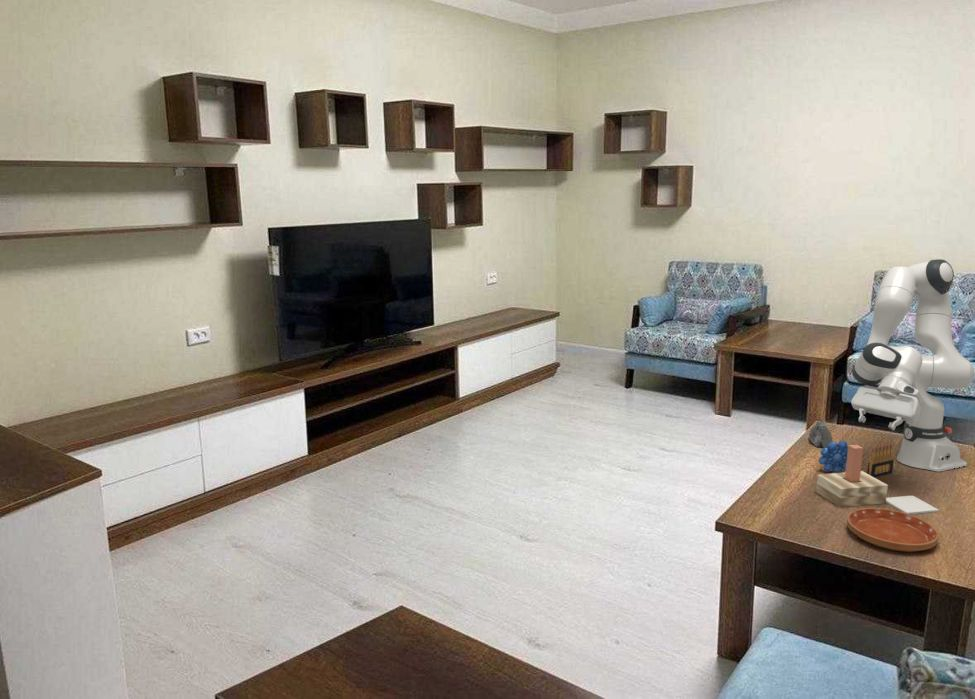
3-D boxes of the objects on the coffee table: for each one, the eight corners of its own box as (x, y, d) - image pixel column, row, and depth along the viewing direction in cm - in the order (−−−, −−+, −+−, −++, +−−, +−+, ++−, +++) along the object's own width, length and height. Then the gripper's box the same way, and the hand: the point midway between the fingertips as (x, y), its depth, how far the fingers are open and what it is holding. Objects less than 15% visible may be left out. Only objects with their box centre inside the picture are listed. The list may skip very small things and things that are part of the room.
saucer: (945, 535, 215) (947, 523, 215) (925, 564, 199) (927, 552, 198) (860, 512, 230) (861, 501, 229) (834, 538, 214) (836, 526, 213)
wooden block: (852, 486, 242) (857, 444, 239) (858, 490, 239) (863, 447, 236) (843, 487, 241) (848, 445, 238) (850, 490, 238) (854, 448, 235)
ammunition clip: (871, 478, 256) (875, 445, 253) (866, 476, 257) (870, 443, 255) (892, 473, 260) (896, 440, 258) (887, 471, 262) (891, 438, 259)
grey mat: (912, 497, 241) (912, 495, 241) (938, 511, 230) (938, 509, 230) (881, 499, 239) (881, 498, 239) (906, 514, 228) (906, 512, 228)
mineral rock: (811, 436, 299) (814, 411, 297) (840, 441, 292) (843, 416, 290) (801, 444, 289) (803, 419, 287) (830, 450, 283) (833, 425, 280)
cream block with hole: (861, 488, 248) (863, 470, 247) (887, 503, 236) (889, 485, 235) (816, 492, 245) (817, 474, 243) (839, 507, 233) (841, 489, 232)
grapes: (855, 472, 262) (858, 438, 259) (854, 478, 256) (858, 444, 253) (818, 466, 267) (821, 433, 264) (817, 472, 261) (820, 439, 258)
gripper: (858, 378, 253) (841, 412, 250) (923, 391, 238) (906, 427, 234) (863, 389, 257) (846, 422, 253) (928, 402, 241) (910, 438, 238)
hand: (875, 425), depth 243 cm, fingers open, 8 cm apart
